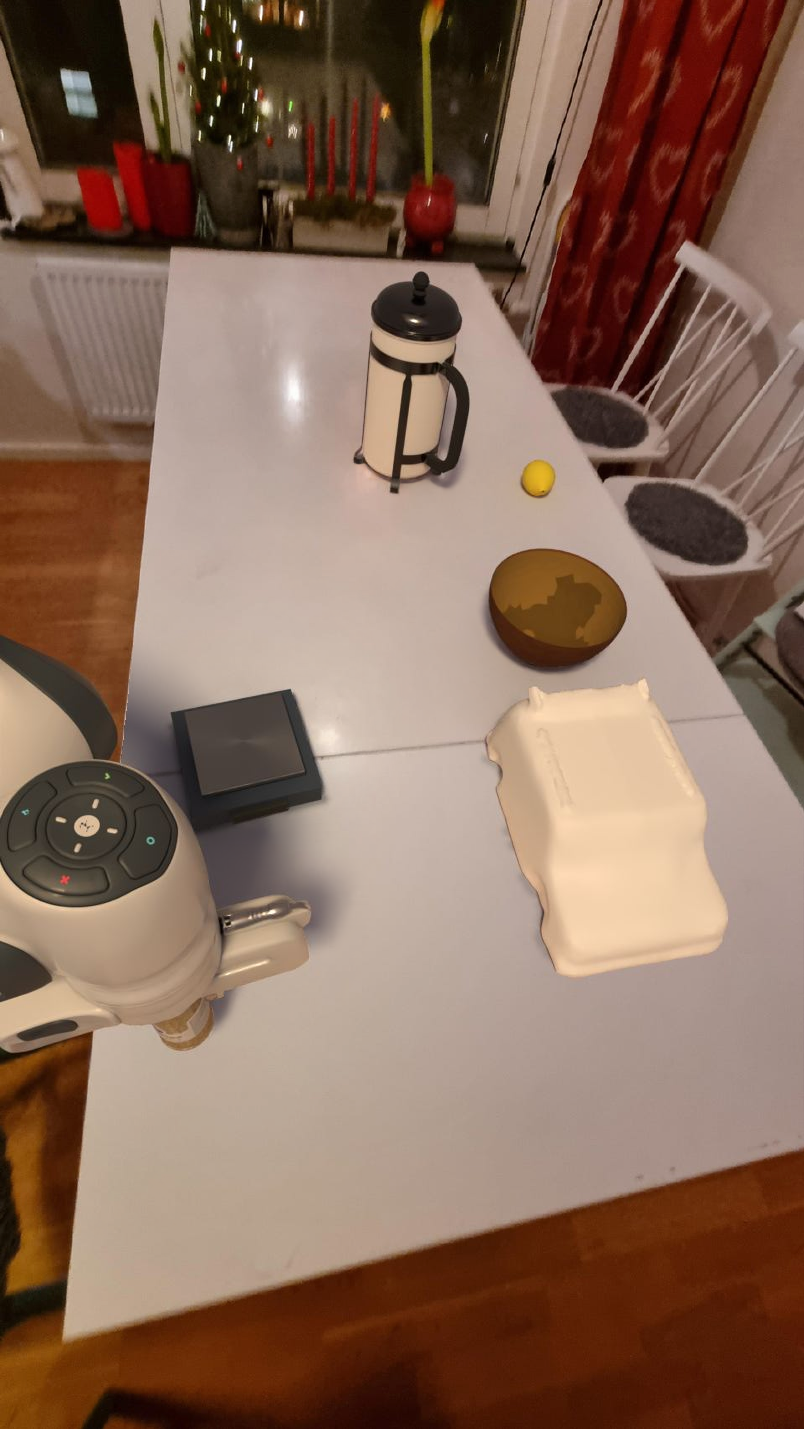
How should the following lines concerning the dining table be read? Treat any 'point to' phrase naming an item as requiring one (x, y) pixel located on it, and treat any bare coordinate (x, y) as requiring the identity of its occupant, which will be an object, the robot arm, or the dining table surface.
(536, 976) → the dining table surface
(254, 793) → the scale
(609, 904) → the egg carton
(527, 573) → the bowl
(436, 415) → the coffee press
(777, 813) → the dining table surface
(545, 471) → the lemon
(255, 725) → the scale pan
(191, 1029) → the sprinkles bottle
